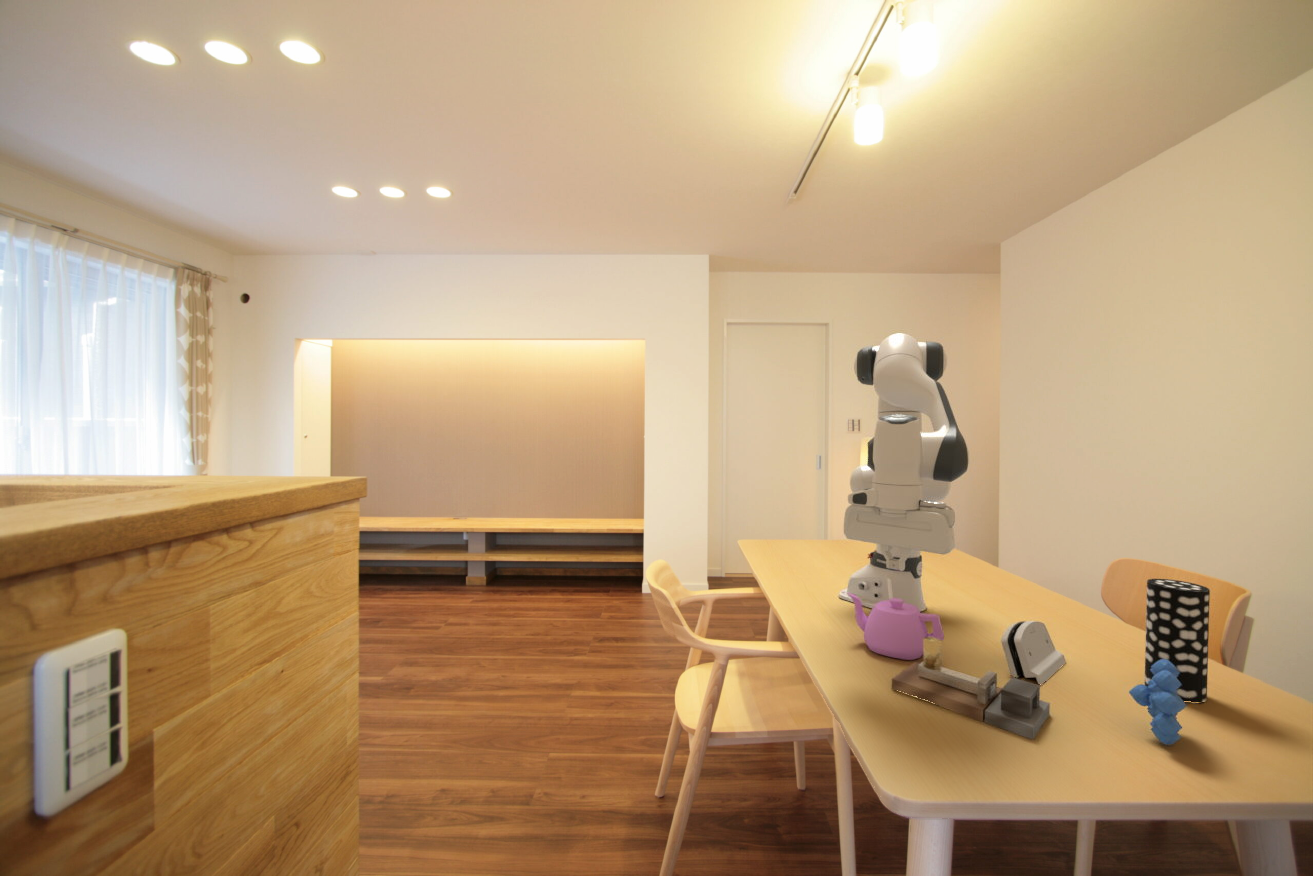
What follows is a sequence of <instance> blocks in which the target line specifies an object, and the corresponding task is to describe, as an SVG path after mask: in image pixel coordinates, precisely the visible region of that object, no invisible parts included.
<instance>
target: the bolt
mask: <svg viewBox="0 0 1313 876" xmlns="http://www.w3.org/2000/svg"><path fill="white" fill-rule="evenodd" d="M942 641H943V640H940V639H938V638H935V637H924V638H923V655H922V661H921V662H919V663H920V664H919V665H918V676H921V677H924V678H927V679H930V680H933V681H936V682H939V683H942V684H945V685H949V686H952V687H955V688H958V689H961V690H964V691H967V692H970V693H973V694H976V695H977V689H978V681H979V680H980V679H981V678H979V677H976V676H973V675H969V674H966V673H963V672H960V671H957V670H953V669H950V668H947V667H943V666H942ZM994 695H995V683H993V682H992V683H991V684H990V685H989V686H988V699H992V698H993V696H994Z"/></svg>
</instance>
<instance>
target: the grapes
mask: <svg viewBox="0 0 1313 876" xmlns="http://www.w3.org/2000/svg"><path fill="white" fill-rule="evenodd" d="M1150 671H1151V672H1152V673H1153V675H1154V677H1152V679H1151V680H1149V681H1148V683H1147V684H1148V685H1149V686H1148V687H1147V686H1145V684H1141V683H1140V684H1137V685H1135V686H1134V687H1132V688H1131V689H1129V691H1128V693H1129V694H1130V696H1131V697H1132V699H1133V700H1134V701H1135V702H1136V703H1137V705H1140V706H1142V707H1147V713H1148V714H1149V715H1150V716H1151V717H1152V719H1151V722H1149V725H1150V726H1151V727H1152V728H1150V730H1151V732H1152V733H1153V735H1154V736H1155V737H1156V738H1157V740H1158V741H1159V742H1160V743H1162V744H1163V745H1165V746H1170V745H1173V744H1175V743H1176V742H1177V741H1178V740H1180V739H1181V738H1182V737H1181V736H1180V734H1179V732H1180V731H1181V730H1182V729H1183V726H1182V725H1181V724H1180V722H1179V721H1178V720H1177V719H1178V718H1177V715H1178V713H1180V712H1181V711H1183V710H1185V708H1186V707H1187V703H1186V702H1184V701H1183V700H1182V699H1181V698H1180V697H1179V696H1178V695H1177V693H1176V692H1177V690H1176V689H1178V688H1179V687H1180V686H1181V685H1182V684H1181V683H1180V682H1179V680H1178V679H1177V677H1178V674H1179V673H1180V672H1179V671H1178V670H1177V668H1176V667H1175V666H1174V665H1173V664H1172V663H1171V662H1170V661H1169V660H1167V659H1161V660H1159V661H1157V662H1156V663H1154V664H1153V665H1152V666H1151V669H1150Z"/></svg>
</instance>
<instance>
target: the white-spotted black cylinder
mask: <svg viewBox="0 0 1313 876" xmlns="http://www.w3.org/2000/svg"><path fill="white" fill-rule="evenodd" d="M1210 593H1211V592H1210V587H1209V588H1208V587H1206V586H1204V585H1201V584H1197V583H1192V582H1188V581H1183V580H1176V579H1167V578H1149V579H1147V580H1146V615H1145V620H1146V621H1145V652H1144V653H1145V655H1144V659H1145V660H1144V665H1145V666H1144V685H1145V686H1147V687H1148V686H1149V685H1148V684H1147V683H1148V681H1149V680H1151V679H1152V677H1154V675H1153V673H1152V672H1151V671H1150V669H1151V666H1152V665H1153V664H1154V663H1156V662H1157V661H1159V660H1161V659H1167V660H1169V661H1170V662H1171V663H1172V664H1173V665H1174V666H1175V667H1176V668H1177V670H1178V671H1179V672H1180V673H1179V674H1178V677H1177V679H1178V680H1179V682H1180V683H1181V684H1182V685H1181V686H1180V687H1179V688H1178V689H1176V690H1177V692H1176V693H1177V695H1178V696H1179V697H1180V698H1181V699H1182V700H1183V701H1191V702H1203V701H1206V700H1207V699H1208V672H1209V671H1208V669H1209V666H1208V665H1209V663H1208V662H1209V637H1210V636H1209V633H1210V632H1209V631H1210V630H1209V628H1210V627H1209V625H1210V595H1211V594H1210ZM1207 701H1208V700H1207ZM1207 701H1206V702H1207Z"/></svg>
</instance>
